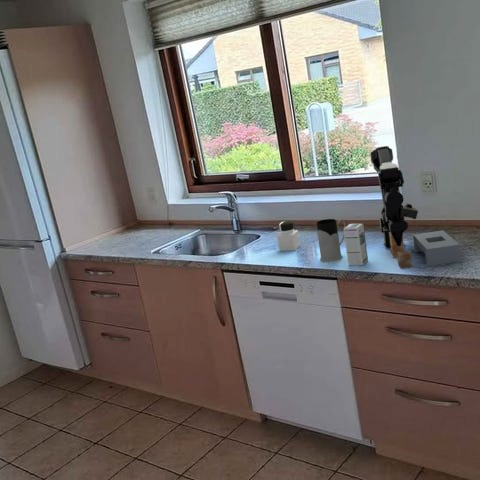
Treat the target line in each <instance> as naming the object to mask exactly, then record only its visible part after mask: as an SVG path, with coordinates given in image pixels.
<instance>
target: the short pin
mask: <svg viewBox="0 0 480 480" xmlns="http://www.w3.org/2000/svg"><path fill="white" fill-rule="evenodd" d="M397 256H398V257H397V263H398V267H399V268H400V269H403V270H404V269H409V268H413V258H412V252H411V251H410V250H408V249H407V250H404V251H401V252H397Z"/></svg>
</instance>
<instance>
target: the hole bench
mask: <svg viewBox="0 0 480 480" xmlns="http://www.w3.org/2000/svg"><path fill="white" fill-rule="evenodd" d="M412 235H413V236H412V237H413V246H414V251H415V252H416V253H419V252H423V253H424V259H425V264H426V265H427V266H428V267H429V266H438V265H444V263H445V264H450V263H457V262H462V258H461V246H460V243H459V242H458V241H456V240H455V239H454V238H453V237H452V236H451V235H449V234H448V233H447V232H446V231H445V230H436V231H429V232H423V233H417V234H412ZM437 264H438V265H437Z"/></svg>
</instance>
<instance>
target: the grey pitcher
mask: <svg viewBox="0 0 480 480" xmlns="http://www.w3.org/2000/svg"><path fill="white" fill-rule="evenodd" d="M341 221H342V222H343V229H344V228H345V227H346V226H347V224H346V221H345V220H344V219H339V220H336V219H335V218H326V219H321V220H319V221H317V222H316V228H317V230H316V231H317V239H318V245H319V247H318V248H319V252H320V253H319V254H320V257H319V258H320V259H319V261H320V262H321V263H322V262H323V263H333V262H338V261H340V260H342V259H343V257H344V256H343V255H342V252H341V245H342V244H343V241H344V240H345V237H344V234H343V235H342V238H341V240H340V237H339V230H340V229H339V224H340V222H341Z"/></svg>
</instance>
